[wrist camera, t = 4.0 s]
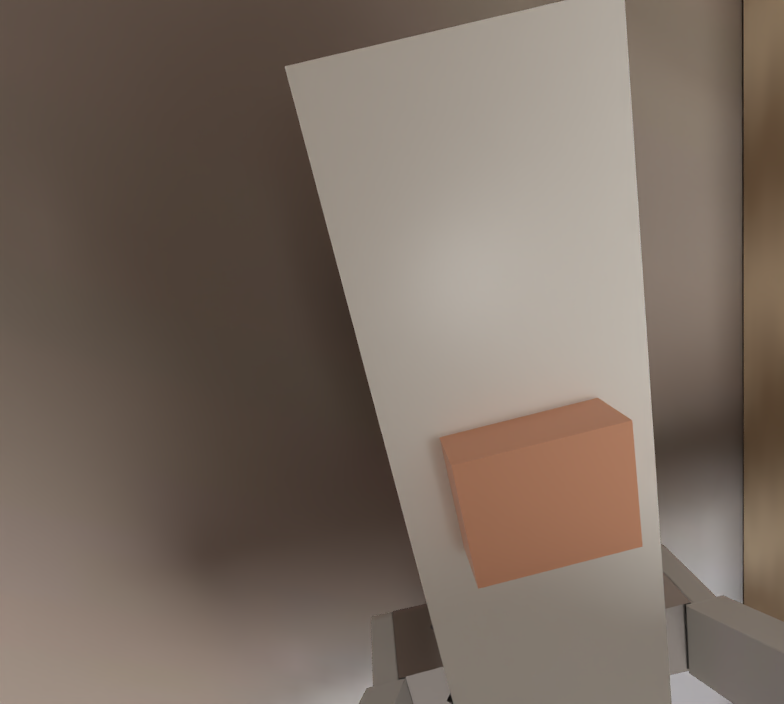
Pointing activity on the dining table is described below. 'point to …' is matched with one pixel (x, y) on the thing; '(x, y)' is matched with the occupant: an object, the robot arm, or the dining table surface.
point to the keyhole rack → (764, 306)
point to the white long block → (505, 339)
